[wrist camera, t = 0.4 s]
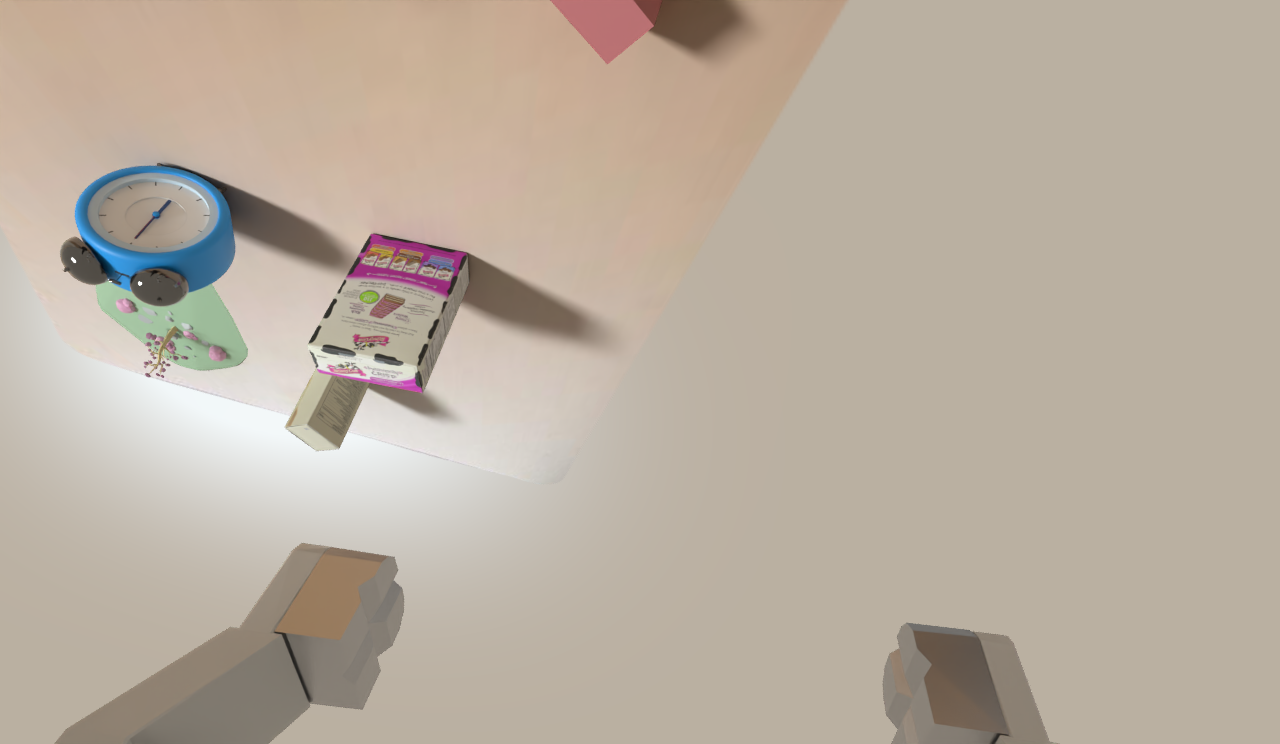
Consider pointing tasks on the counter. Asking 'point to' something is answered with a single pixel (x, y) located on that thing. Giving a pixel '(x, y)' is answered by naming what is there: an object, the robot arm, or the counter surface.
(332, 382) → the skincare box
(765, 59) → the counter surface
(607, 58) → the boxed book
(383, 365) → the candy bar box
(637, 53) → the counter surface
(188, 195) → the alarm clock
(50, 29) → the counter surface
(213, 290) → the plant
